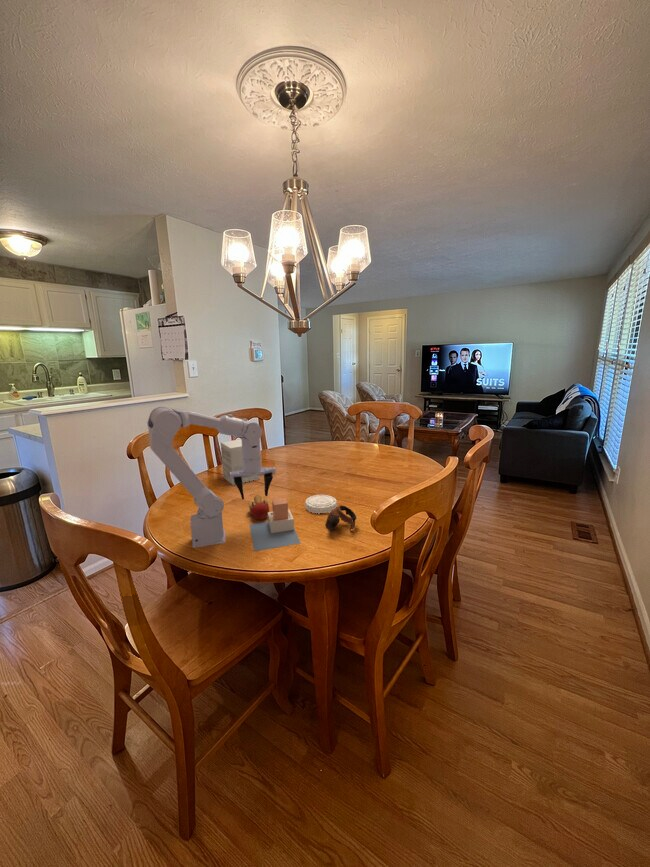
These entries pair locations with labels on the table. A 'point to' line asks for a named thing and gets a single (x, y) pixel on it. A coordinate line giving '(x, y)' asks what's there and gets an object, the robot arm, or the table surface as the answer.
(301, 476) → the table surface
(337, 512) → the brown looped piece
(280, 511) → the terracotta block
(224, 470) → the supplement box
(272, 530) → the base block
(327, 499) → the mooncake
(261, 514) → the kendama
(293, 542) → the mat
